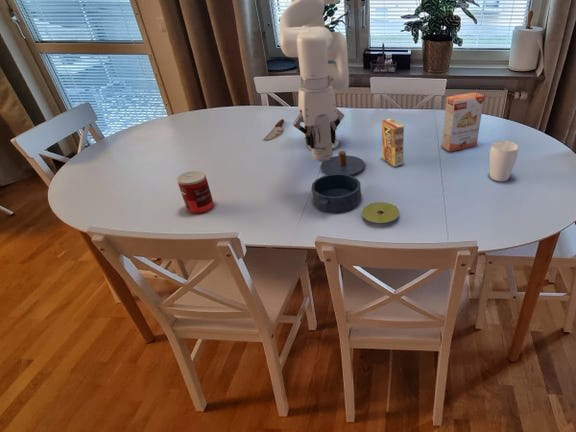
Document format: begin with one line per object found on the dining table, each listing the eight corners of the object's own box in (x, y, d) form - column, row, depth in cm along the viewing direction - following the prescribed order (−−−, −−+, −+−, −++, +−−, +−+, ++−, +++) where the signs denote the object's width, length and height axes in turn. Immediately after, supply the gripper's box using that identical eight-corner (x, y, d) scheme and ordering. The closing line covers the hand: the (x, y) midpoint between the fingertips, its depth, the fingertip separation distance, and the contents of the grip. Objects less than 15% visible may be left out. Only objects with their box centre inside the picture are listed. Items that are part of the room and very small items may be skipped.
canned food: (191, 201, 125) (181, 171, 119) (217, 200, 126) (208, 170, 119) (183, 215, 119) (172, 183, 113) (210, 213, 119) (201, 182, 113)
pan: (300, 212, 120) (298, 197, 117) (329, 181, 136) (327, 167, 133) (346, 221, 116) (345, 205, 113) (370, 188, 132) (370, 173, 129)
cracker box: (449, 153, 155) (455, 100, 143) (441, 147, 160) (445, 96, 148) (477, 146, 160) (485, 95, 149) (468, 141, 165) (475, 91, 153)
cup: (513, 173, 141) (519, 142, 134) (511, 185, 134) (518, 152, 127) (487, 169, 143) (492, 138, 137) (484, 180, 136) (489, 149, 130)
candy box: (403, 164, 147) (404, 125, 138) (394, 167, 145) (395, 128, 136) (390, 156, 153) (390, 118, 144) (381, 158, 151) (381, 120, 142)
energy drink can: (309, 160, 117) (303, 111, 108) (319, 152, 121) (314, 104, 113) (326, 163, 115) (322, 114, 106) (336, 155, 119) (332, 107, 111)
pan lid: (313, 174, 140) (311, 158, 137) (332, 155, 153) (330, 140, 150) (355, 181, 136) (354, 165, 133) (371, 161, 149) (370, 146, 145)
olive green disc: (368, 204, 124) (368, 199, 123) (403, 210, 121) (403, 204, 120) (356, 224, 115) (356, 218, 114) (393, 230, 112) (393, 225, 111)
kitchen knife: (273, 139, 165) (262, 137, 165) (273, 143, 166) (262, 140, 166) (291, 120, 182) (281, 118, 182) (291, 123, 183) (281, 121, 183)
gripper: (338, 75, 112) (342, 134, 122) (279, 83, 104) (289, 146, 115) (350, 81, 107) (353, 142, 117) (289, 91, 99) (298, 155, 109)
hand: (321, 143), depth 116 cm, fingers closed on energy drink can, 6 cm apart
